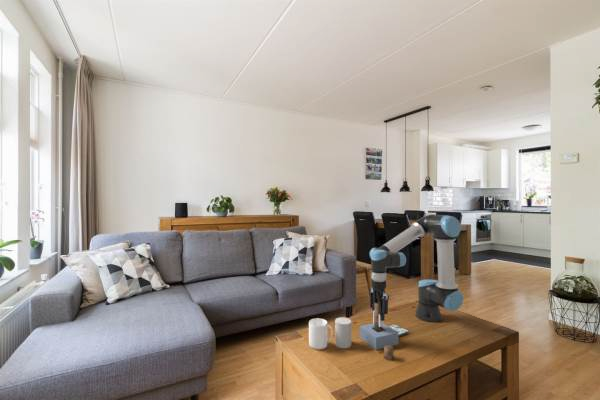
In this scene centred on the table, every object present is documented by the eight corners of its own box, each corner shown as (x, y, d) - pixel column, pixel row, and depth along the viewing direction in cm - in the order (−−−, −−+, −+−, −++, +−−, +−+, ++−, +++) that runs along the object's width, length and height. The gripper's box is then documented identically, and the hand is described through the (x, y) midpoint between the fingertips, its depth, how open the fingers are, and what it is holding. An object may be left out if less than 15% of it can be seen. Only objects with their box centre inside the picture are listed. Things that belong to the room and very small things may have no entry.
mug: (305, 342, 147) (305, 320, 147) (326, 338, 152) (326, 316, 152) (313, 351, 139) (313, 327, 138) (335, 346, 143) (335, 323, 143)
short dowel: (389, 354, 136) (389, 344, 136) (395, 359, 132) (395, 348, 132) (382, 356, 134) (382, 346, 134) (388, 361, 131) (388, 350, 131)
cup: (341, 338, 152) (341, 316, 151) (354, 344, 146) (354, 320, 146) (331, 344, 146) (331, 320, 146) (344, 350, 140) (344, 325, 140)
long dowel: (378, 328, 152) (379, 301, 152) (383, 331, 148) (384, 304, 148) (372, 329, 150) (372, 302, 150) (377, 332, 147) (377, 305, 147)
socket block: (380, 332, 159) (380, 321, 159) (398, 344, 146) (398, 332, 146) (359, 337, 153) (359, 325, 153) (376, 349, 140) (376, 337, 140)
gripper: (363, 276, 156) (362, 319, 156) (383, 285, 140) (383, 332, 140) (374, 275, 159) (374, 317, 159) (395, 283, 143) (395, 330, 143)
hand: (378, 324), depth 149 cm, fingers closed on long dowel, 4 cm apart
